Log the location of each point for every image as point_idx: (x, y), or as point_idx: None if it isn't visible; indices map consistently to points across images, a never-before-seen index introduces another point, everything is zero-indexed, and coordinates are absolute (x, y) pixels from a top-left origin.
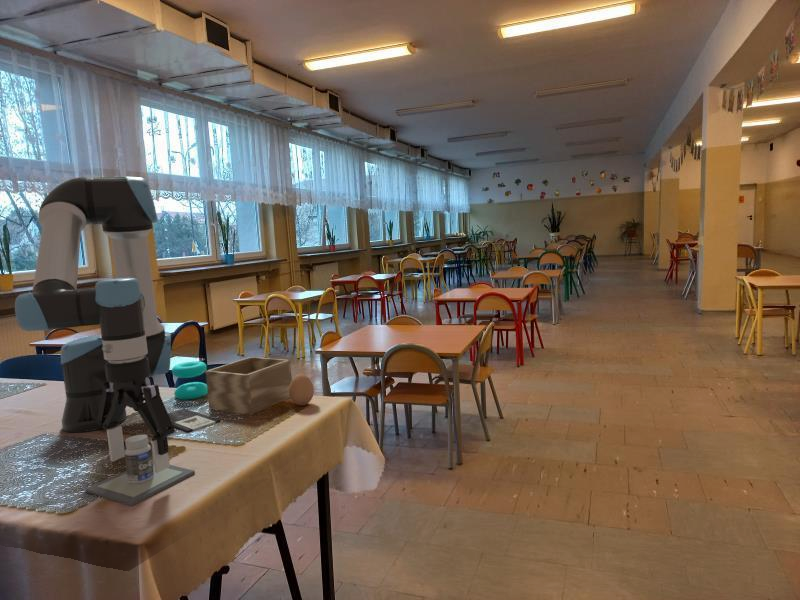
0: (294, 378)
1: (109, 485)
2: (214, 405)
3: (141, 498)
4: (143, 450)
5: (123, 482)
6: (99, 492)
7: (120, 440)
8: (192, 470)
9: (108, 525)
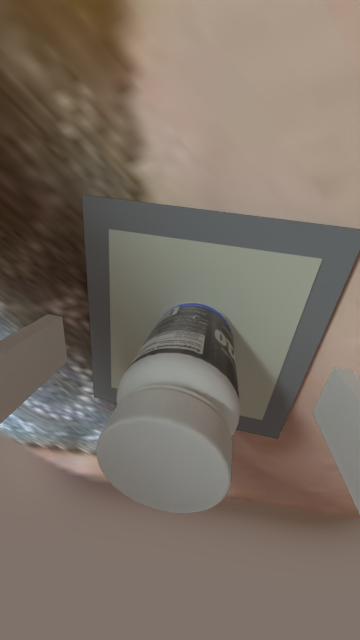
0: None
1: None
2: None
3: (285, 416)
4: (232, 434)
5: None
6: None
7: (1, 370)
8: (356, 231)
9: (284, 486)
